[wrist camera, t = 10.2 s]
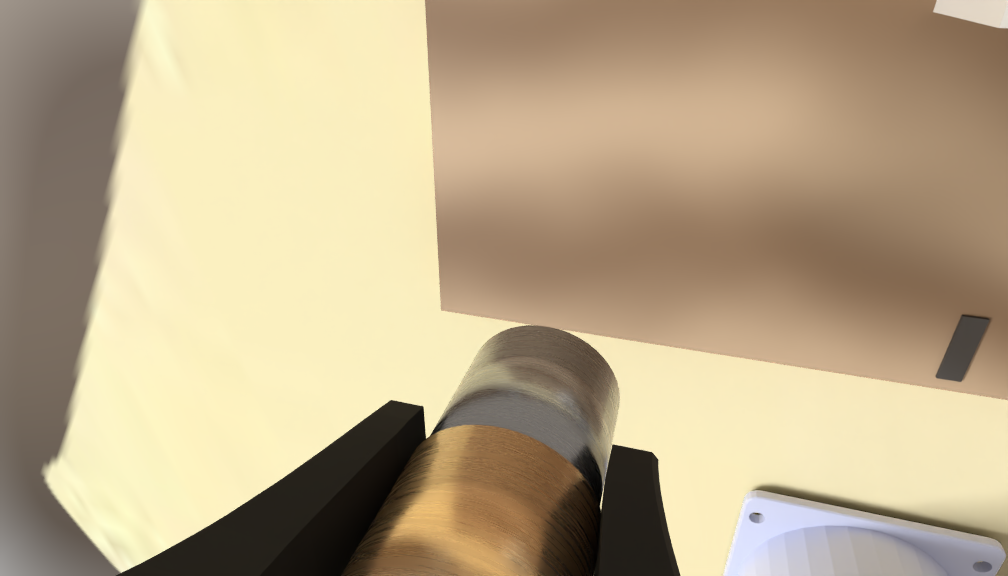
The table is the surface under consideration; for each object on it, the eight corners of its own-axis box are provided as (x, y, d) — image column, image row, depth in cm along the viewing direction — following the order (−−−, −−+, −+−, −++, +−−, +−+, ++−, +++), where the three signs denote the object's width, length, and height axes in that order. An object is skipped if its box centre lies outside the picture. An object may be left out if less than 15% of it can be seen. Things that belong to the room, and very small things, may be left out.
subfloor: (1223, 409, 16) (1261, 442, 15) (453, 293, 22) (440, 311, 21) (2044, -706, 8) (2266, -815, 7) (424, -441, 13) (398, -477, 12)
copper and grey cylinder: (613, 467, 12) (531, 925, 7) (467, 433, 13) (274, 817, 7) (635, 337, 11) (553, 785, 5) (467, 307, 12) (223, 666, 6)
